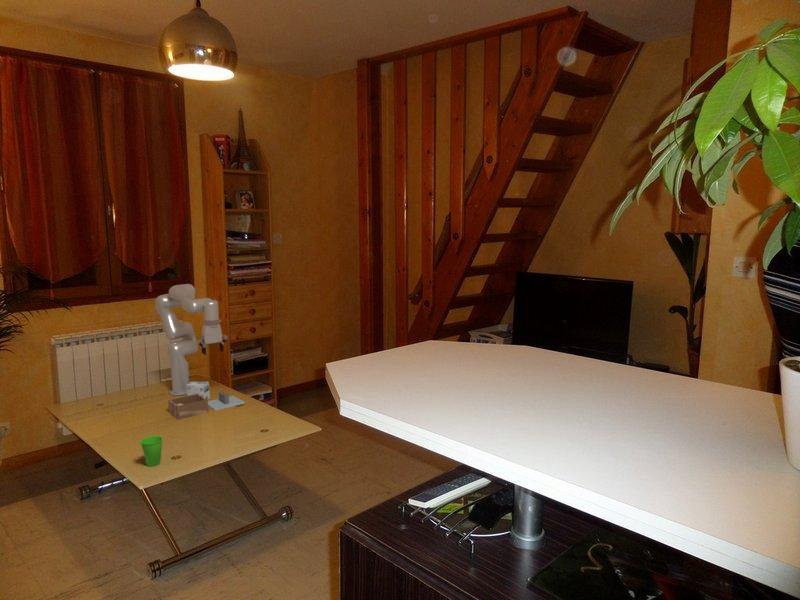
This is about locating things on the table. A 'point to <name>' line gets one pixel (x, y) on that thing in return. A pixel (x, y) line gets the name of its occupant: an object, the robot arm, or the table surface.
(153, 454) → the cup
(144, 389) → the table surface
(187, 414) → the crate
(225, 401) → the lid
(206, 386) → the light bulb box
